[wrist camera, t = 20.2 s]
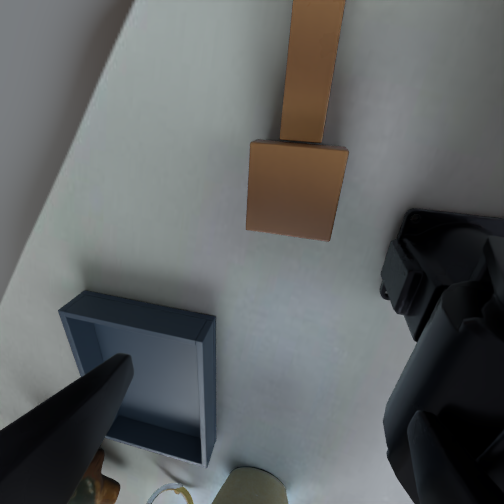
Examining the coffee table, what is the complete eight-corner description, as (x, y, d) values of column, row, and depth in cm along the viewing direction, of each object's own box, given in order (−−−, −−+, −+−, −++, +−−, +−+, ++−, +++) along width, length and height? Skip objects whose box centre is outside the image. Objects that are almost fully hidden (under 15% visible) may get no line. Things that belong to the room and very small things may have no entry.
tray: (215, 316, 24) (202, 342, 21) (216, 439, 33) (207, 468, 30) (84, 290, 26) (57, 310, 24) (118, 412, 35) (101, 437, 33)
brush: (276, -51, 13) (262, -99, 10) (384, -54, 12) (404, -108, 9) (257, 211, 19) (245, 230, 16) (328, 221, 18) (330, 242, 15)
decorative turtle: (49, 410, 39) (-5, 476, 32) (142, 456, 42) (112, 527, 34) (35, 437, 43) (-16, 501, 36) (120, 478, 46) (89, 545, 39)
